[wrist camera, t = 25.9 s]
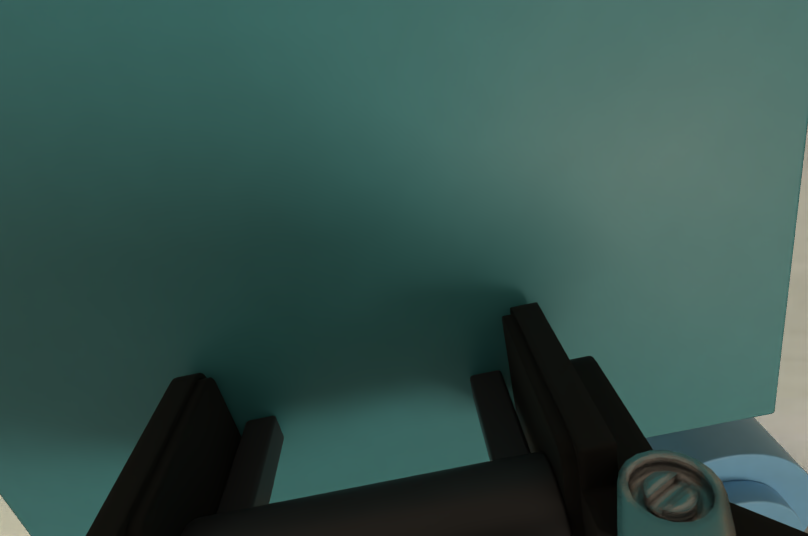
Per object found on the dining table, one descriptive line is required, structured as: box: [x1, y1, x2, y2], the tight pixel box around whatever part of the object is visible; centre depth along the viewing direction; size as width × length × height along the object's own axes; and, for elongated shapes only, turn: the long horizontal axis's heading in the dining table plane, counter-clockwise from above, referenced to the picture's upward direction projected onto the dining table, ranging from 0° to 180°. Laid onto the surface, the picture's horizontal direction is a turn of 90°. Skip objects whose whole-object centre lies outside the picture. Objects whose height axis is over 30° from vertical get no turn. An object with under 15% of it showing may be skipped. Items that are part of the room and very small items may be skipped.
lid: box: [0, 0, 808, 536], centre depth 8 cm, size 17×18×5 cm
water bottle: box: [646, 417, 808, 532], centre depth 19 cm, size 6×6×8 cm
